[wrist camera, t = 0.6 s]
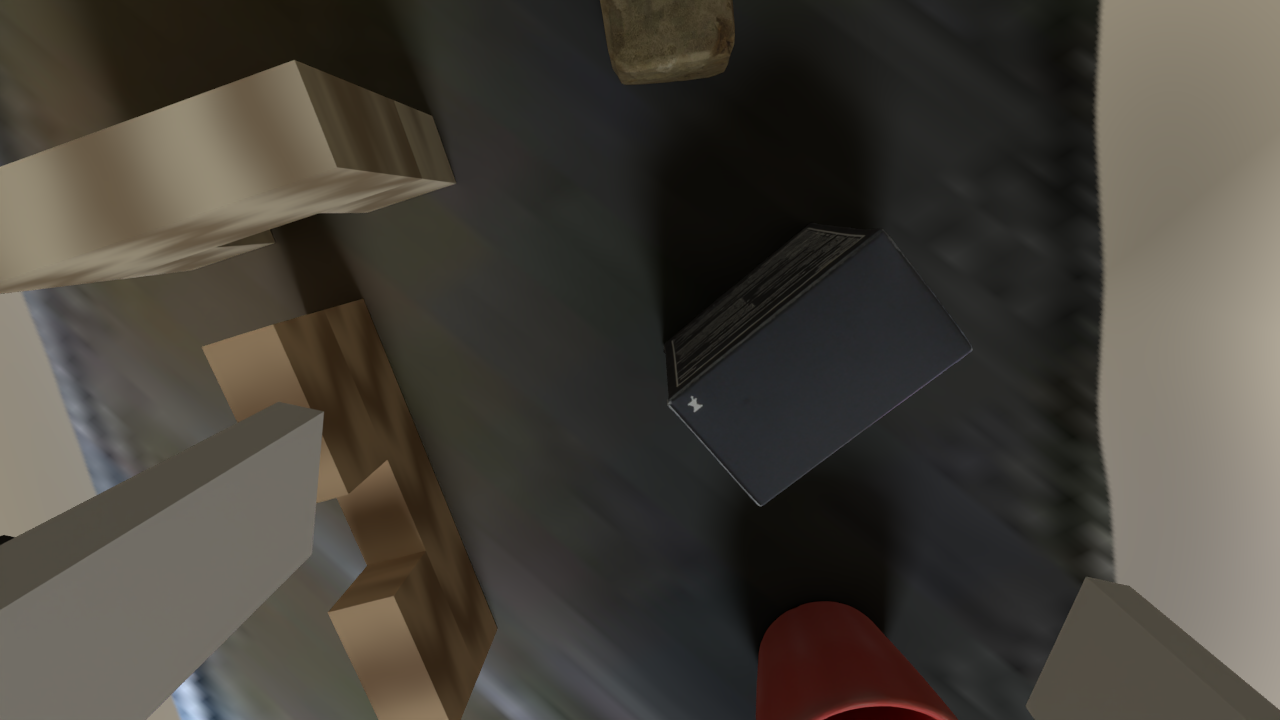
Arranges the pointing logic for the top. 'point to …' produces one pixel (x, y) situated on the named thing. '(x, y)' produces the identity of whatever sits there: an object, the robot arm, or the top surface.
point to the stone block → (668, 39)
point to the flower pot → (838, 670)
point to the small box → (807, 354)
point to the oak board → (374, 508)
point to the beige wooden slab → (210, 178)
